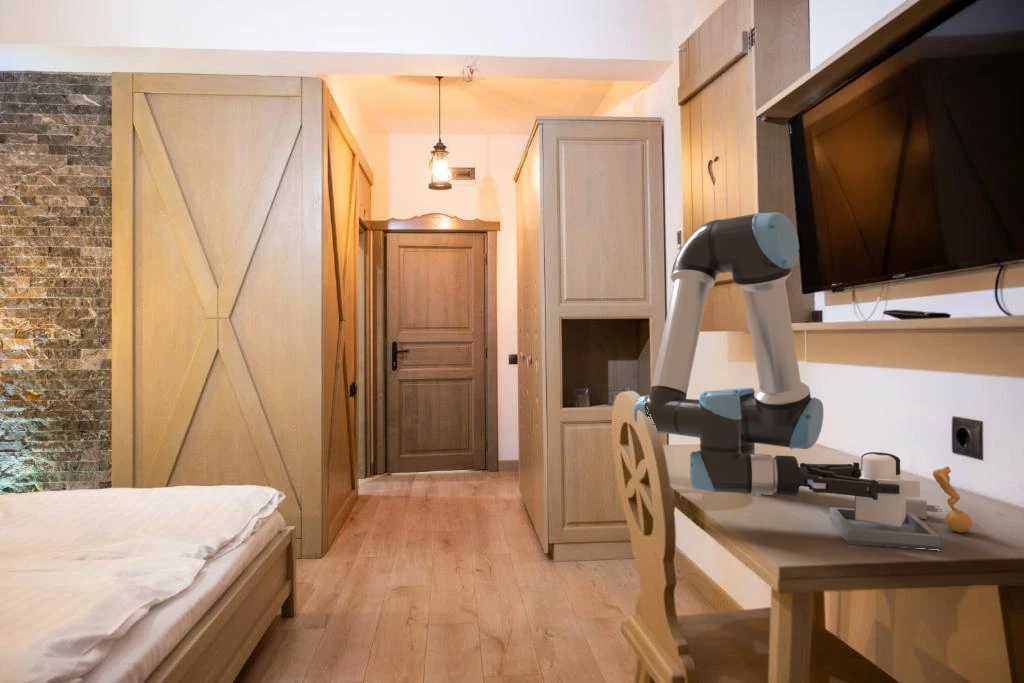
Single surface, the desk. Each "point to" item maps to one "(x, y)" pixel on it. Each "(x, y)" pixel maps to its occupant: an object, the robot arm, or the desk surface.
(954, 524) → the figurine
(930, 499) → the desk surface
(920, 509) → the usb wall charger
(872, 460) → the medicine bottle
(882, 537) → the tray
